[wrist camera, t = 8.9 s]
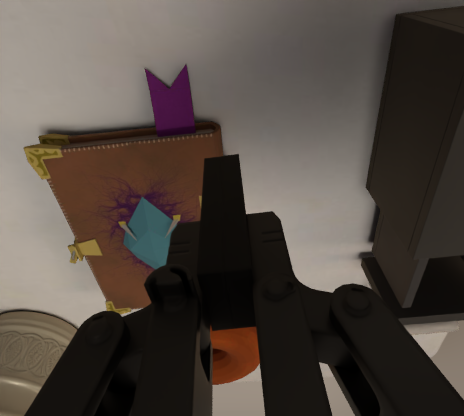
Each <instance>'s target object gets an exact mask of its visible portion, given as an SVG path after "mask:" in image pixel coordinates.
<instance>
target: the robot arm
mask: <svg viewBox="0 0 464 416" xmlns="http://www.w3.org/2000/svg"><path fill="white" fill-rule="evenodd" d="M169 244H170V246H169V249H168V255H167V260H166V265H164V266H161V267H159V268H158V269H156V270H154V271H153V272H152V273H151V274H150V275H149V276H148V277H147V279H146V281H145V283H144V287H145V289H146V292H147V294H148V296H149V298H150V301H151V304H149V305H148V306H147V307H145V308H143V309H141V310H139V311H136V312H134V313H131V314H129V315H126V316H124V317H122V316H121V315H120V314H119V313H117V312H114V311H102V312H99V313H97V314H94V315H93V316H91V317H90V318H88V319H87V320H86V321H84V323H83V324H82V325H81V326H80V327H79V329H78V330H77V332H76V333H75V335H74V336H73V338H72V340H71V341H70V343H69V344H68V346H67V348H66V349H65V351H64V352H63V354H62V356H61V357H60V359H59V361H58V362H57V364H56V365H55V367H54V369H53V370H52V372H51V373H50V375H49V377H48V378H47V380H46V381H45V383H44V385H43V386H42V388H41V389H40V391H39V393H38V394H37V396H36V397H35V399H34V401H33V402H32V404H31V405H30V407H29V409H28V410H27V412H26V413H25V415H24V416H212V380H213V347H212V342H211V339H210V324H211V328H212V331H218V330H228V329H237V328H247V327H256V330H257V340H258V350H259V359H260V369H261V379H262V388H263V397H264V407H265V416H332V412H331V408H330V405H329V400H328V396H327V393H326V388H325V384H324V380H323V377H322V373H321V369H320V365H319V362H321V363H325V364H328V366H329V368H330V370H331V371H332V373H333V375H334V377H335V379H336V381H337V383H338V384H339V386H340V388H341V390H342V392H343V394H344V396H345V398H346V399H347V401H348V403H349V405H350V407H351V409H352V411H353V413H354V414H355V416H464V400H463V398H462V397H461V396H460V395H459V394H458V392H457V391H456V390H455V389H454V387H452V385H451V384H450V383H449V381H448V380H447V379H446V378H445V376H444V375H443V374H442V373H441V371H440V370H439V369H438V368H437V366H436V365H435V364H434V363H433V361H432V360H431V359H430V358H429V357H428V355H427V354H426V353H425V352H424V350H423V349H422V348H421V347H420V345H419V344H418V343H417V342H416V341H415V339H414V338H413V337H412V336H411V334H410V333H409V332H408V331H407V329H406V328H405V327H404V326H403V325H402V323H401V322H400V321H399V320H398V318H397V317H396V316H395V315H394V313H393V312H392V311H391V310H390V308H389V307H388V306H387V305H386V304H385V302H384V301H383V300H382V299H381V297H380V296H379V295H378V294H376V293H375V292H374V291H373V290H372V289H370V288H367V287H365V286H363V285H358V284H346V285H342V286H340V287H338V288H337V289H335V291H334V292H333V293H330V292H325V291H319V290H315V289H311V288H309V287H307V286H305V285H303V284H302V283H301V282H299V281H298V279H297V278H296V277H295V275H294V272H293V269H292V265H291V261H290V257H289V253H288V249H287V245H286V241H285V237H284V233H283V229H282V224H281V220H280V219H279V218H278V217H277V216H276V215H275V213H274V212H273V211H271V212H263V213H254V214H246V211H245V202H244V194H243V186H242V178H241V169H240V161H239V154H235V155H227V156H220V157H212V158H204V171H203V186H202V201H201V216H200V221H193V222H185V223H178V224H177V226H176V227H175V228H174V230H173V231H172V233H171V237H170V243H169Z"/></svg>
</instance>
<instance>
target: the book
mask: <svg viewBox="0 0 464 416" xmlns="http://www.w3.org/2000/svg"><path fill="white" fill-rule="evenodd" d="M145 72H146V77H147V81H148V86H149V90H150V95H151V101H152V106H153V112H154V118H155V125H156V127H153V128H144V129H134V130H124V131H115V132H105V133H95V134H86V135H76V136H69V135H60V134H47V135H42V136H39V137H38V138H39V141H40V144H36V145H31V146H26V147H24V151H25V154H26V157H27V160H28V162H29V163H30V165H31V166H32V167H33V168H34V170H35V171H36V172H37V174H38V175H39V176H40V177H41V179H47V181H48V183H49V185H50V187H51V189H52V191H53V193H54V195H55V197H56V199H57V201H58V203H59V205H60V207H61V209H62V211H63V213H64V215H65V217H66V220H67V222H68V224H69V226H70V228H71V230H72V232H73V234H74V236H75V241H74V244H73V245H69V246H68V249H69V251H70V252H71V254H72V255H71V259H70V263H76V261H77V259H78V258H79V260H80V261H82V260H83V257H84V256H85V258H86V260H87V262H88V264H89V266H90V268H91V270H92V272H93V274H94V276H95V278H96V280H97V282H98V284H99V286H100V288H101V290H102V292H103V294H104V296H105V298H106V308H107V311H114V312H117V313H119V314H123V313H127V312H131V309H139V308H145V307H147V306H148V305H149V304H151V301H150V298H149V296H148V294H147V292H146V289H145V287H144V283H145V281H146V279H147V277H148V276H149V275H150V274H151V273H152V272H153V271H154V270H156V269H158V268H159V267H161V266H164V265H166V260H167V255H168V249H169V246H170V244H169V243H170V237H171V233H172V231H173V230H174V228H175V227H176V226H177V224H178V223H185V222H193V221H200V216H201V201H202V186H203V171H204V158H212V157H220V156H223V149H222V139H221V129H220V126H219V125H218V124H217V123H214V122H212V121H211V122H202V123H194V115H193V107H192V100H191V92H190V85H189V79H188V72H187V66H186V65H185V66H184V68H183V69H182V71H181V72H180V74H179V75H178V77H177V78H176V80H175V81H174V83H173V84H172V86H171V87H170V88H168V87H167V86H165V85H164V84H163V83H162V82H161V81H159V80H158V79H157V78H156V77H155V76H154V75H152V74H151V73H150V72H149V71H148V70H146V69H145Z"/></svg>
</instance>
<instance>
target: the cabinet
mask: <svg viewBox="0 0 464 416" xmlns="http://www.w3.org/2000/svg"><path fill="white" fill-rule="evenodd" d="M366 189H367V190H368V192H369V193H370V195H371V196H372V198H373V200H374V201H375V203H376V204H377V206H378V207H379V209H380V210H381V212H382V213H383V215H384V216H385V218H386V219H387V221H388V223H389V224H390V226H391V227H392V229H393V230H394V232H395V233H396V235H397V236H398V238H399V239H400V241H401V243H402V244H403V246H404V247H405V249H406V250H407V252H408V253H409V255H410V257H411V258H412V260H417V259H428V258H438V257H449V256H460V255H464V6H459V7H451V8H443V9H435V10H426V11H418V12H410V13H402V14H397V15H396V18H395V24H394V30H393V36H392V41H391V47H390V53H389V58H388V64H387V70H386V75H385V81H384V87H383V93H382V98H381V104H380V110H379V115H378V121H377V127H376V132H375V138H374V144H373V149H372V155H371V161H370V167H369V172H368V178H367V184H366Z"/></svg>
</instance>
